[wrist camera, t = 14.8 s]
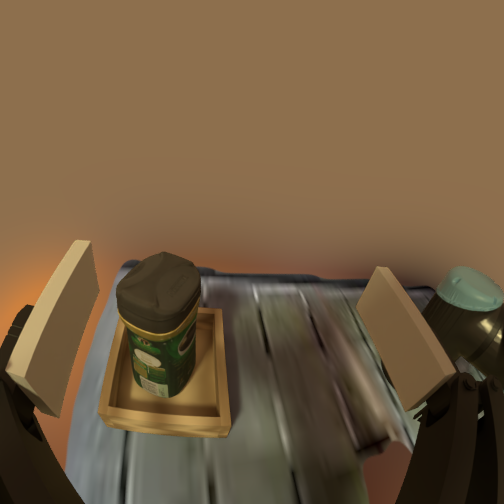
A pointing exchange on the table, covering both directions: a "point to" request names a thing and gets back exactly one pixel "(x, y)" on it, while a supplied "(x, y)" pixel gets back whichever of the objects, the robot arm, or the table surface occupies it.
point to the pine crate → (180, 406)
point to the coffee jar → (161, 321)
